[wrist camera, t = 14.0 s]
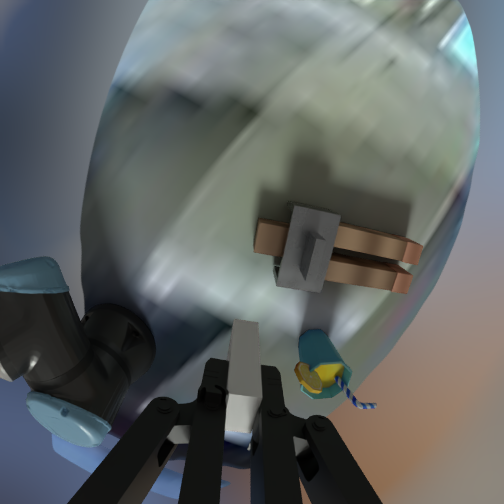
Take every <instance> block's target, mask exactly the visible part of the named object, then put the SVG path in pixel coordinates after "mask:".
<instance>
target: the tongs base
mask: <svg viewBox="0 0 504 504" xmlns="http://www.w3.org/2000/svg"><path fill="white" fill-rule="evenodd" d="M288 228H289V223H285V222H279V221H274V220H269V219H264V218H258V224H257V229H256V234H255V239H254V244H253V247H254V252H255V253H261V254H266V255H272V256H277V257H282V255H283V250H284V246H285V241H286V237H287V232H288ZM412 278H413V275H412V274H410V273H409V272H407V271H406V270H405V269H403V268H402V267H400V266H399V265H397V264H392V263H387V262H379V261H374V260H369V259H364V258H358V257H353V256H348V255H343V254H338V253H333V252H332V254H331V258H330V262H329V266H328V269H327V273H326V276H325V280H327V281H334V282H340V283H346V284H352V285H359V286H365V287H372V288H378V289H384V290H390V291H391V292H397V293H404V294H407V292H408V289H409V286H410V284H411V281H412Z"/></svg>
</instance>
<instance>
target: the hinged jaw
mask: <svg viewBox="0 0 504 504" xmlns="http://www.w3.org/2000/svg"><path fill="white" fill-rule="evenodd" d="M334 247H338V248H343V249H348V250H353V251H357V252H362V253H367V254H372V255H376V256H381V257H386V258H390V259H395V260H400V261H402V262H405V263H409V264H414V265H418V262H419V258H420V255H421V252H422V248H423V246H422V245H420V244H418V243H416V242H414V241H412V240H410V239H408V238H405V237H402V236H398V235H394V234H388V233H384V232H380V231H376V230H372V229H368V228H364V227H360V226H355V225H351V224H347V223H343V222H339V227H338V231H337V235H336V239H335V243H334Z"/></svg>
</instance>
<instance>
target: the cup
mask: <svg viewBox="0 0 504 504" xmlns="http://www.w3.org/2000/svg"><path fill="white" fill-rule="evenodd" d="M298 348H299V358H300V362H298V363H297V364H296V367H295V369H294V371H295V373H296V376H297V378H298V380H299V382H300V383H301V391H302V392H304V393H305V394H306V395H308V396H309V397H311V398H312V399H322V398H332V397H334V396H335V395H337V394H338V393H339V392H341V391H342V390H343V392H344V393H345V394H346V395H347V397H348V398H349V399H350V401H351V402H352V403H353V404H354V405H355V406H356V407H358V408H359V409H368V408H376V406H377V404H376V403H361V402H359V401H358V400H357V399H356V398H355V396H354V395H353V394H352V393H351V391H350V390H349V389H348V385H349V382H350V378H351V375H352V370H351V369H350V367H348V366H347V365H346V364H345V363H344V361H343V359H342V358H341V356H340V355H339V353H338V352H337V350H336V348H335V347H334V345H333V344H332V342H331V340H330V339H329V337H328V336H327V335H326V334H325V333H324V332H323V331H322V330H321V329H314V330H308V331H307V332H305V333H304V334H303V335H302V336H300V338H299V346H298Z"/></svg>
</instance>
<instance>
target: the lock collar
mask: <svg viewBox="0 0 504 504" xmlns="http://www.w3.org/2000/svg"><path fill="white" fill-rule="evenodd" d="M287 207H288V208H289V209H290V210H291V211H292V214H291V218H290V223H289V228H288V232H287V237H286V241H285V246H284V250H283V255H282V259H281V264H280V267H279V266H274V268H273V273H274V278H275V282H276V286H278V287H285V288H291V289H297V290H304V291H310V292H317V293H321V290H322V287H323V283H324V280H325V276H326V273H327V269H328V266H329V262H330V258H331V254H332V250H333V247H334V243H335V239H336V235H337V231H338V227H339V222H340V218H341V215H339V214H337V213H335V212H333V211H331V210H329V209H325V208H320V207H316V206H311V205H306V204H302V203H297V202H292V201H288V203H287Z"/></svg>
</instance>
